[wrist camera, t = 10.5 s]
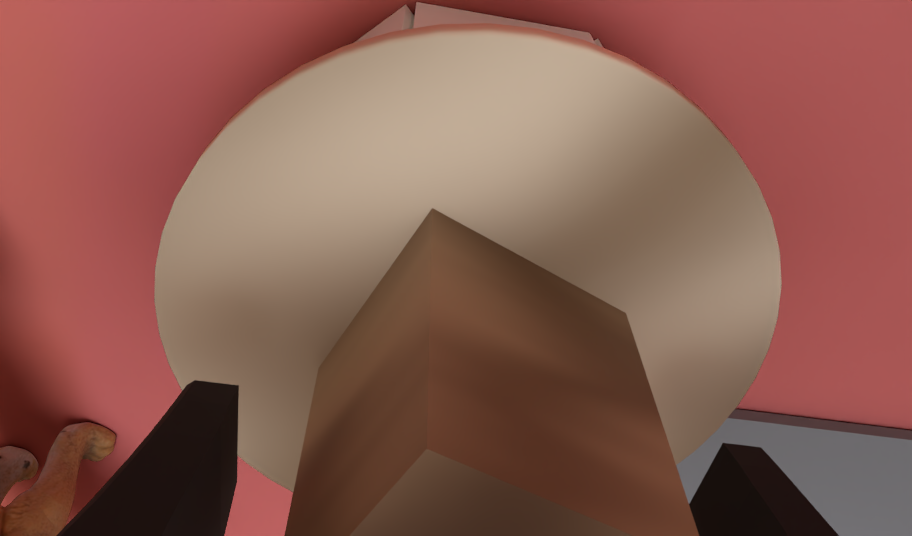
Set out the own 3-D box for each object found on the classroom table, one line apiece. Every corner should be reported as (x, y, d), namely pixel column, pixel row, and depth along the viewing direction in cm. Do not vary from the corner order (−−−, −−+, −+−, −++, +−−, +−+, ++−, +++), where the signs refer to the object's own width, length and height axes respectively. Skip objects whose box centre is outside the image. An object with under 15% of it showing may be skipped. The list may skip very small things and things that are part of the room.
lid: (901, 241, 13) (1152, 506, 8) (533, 562, 18) (563, 836, 14) (343, -142, 10) (251, -46, 5) (83, 390, 15) (-79, 678, 10)
